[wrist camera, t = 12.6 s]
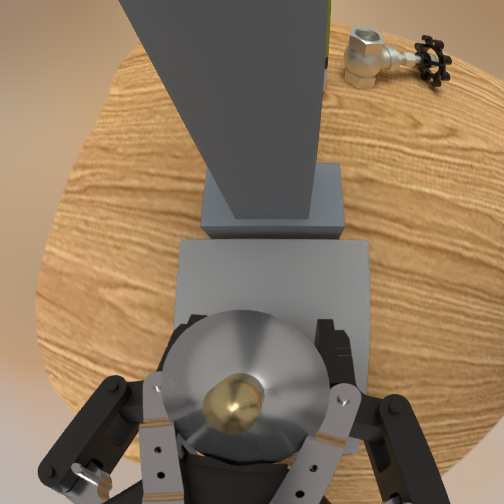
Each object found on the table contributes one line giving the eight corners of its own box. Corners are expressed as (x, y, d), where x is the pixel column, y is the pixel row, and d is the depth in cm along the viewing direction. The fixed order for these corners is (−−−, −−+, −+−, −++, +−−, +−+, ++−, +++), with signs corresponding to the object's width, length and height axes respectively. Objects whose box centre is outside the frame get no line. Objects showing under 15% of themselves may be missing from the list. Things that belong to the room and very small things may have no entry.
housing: (279, 302, 18) (260, 264, 7) (324, 367, 17) (375, 430, 5) (213, 345, 18) (106, 366, 7) (256, 409, 16) (207, 511, 5)
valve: (354, 100, 25) (440, 97, 24) (363, 52, 18) (459, 60, 17) (331, 63, 26) (414, 62, 25) (335, 19, 20) (426, 25, 19)
